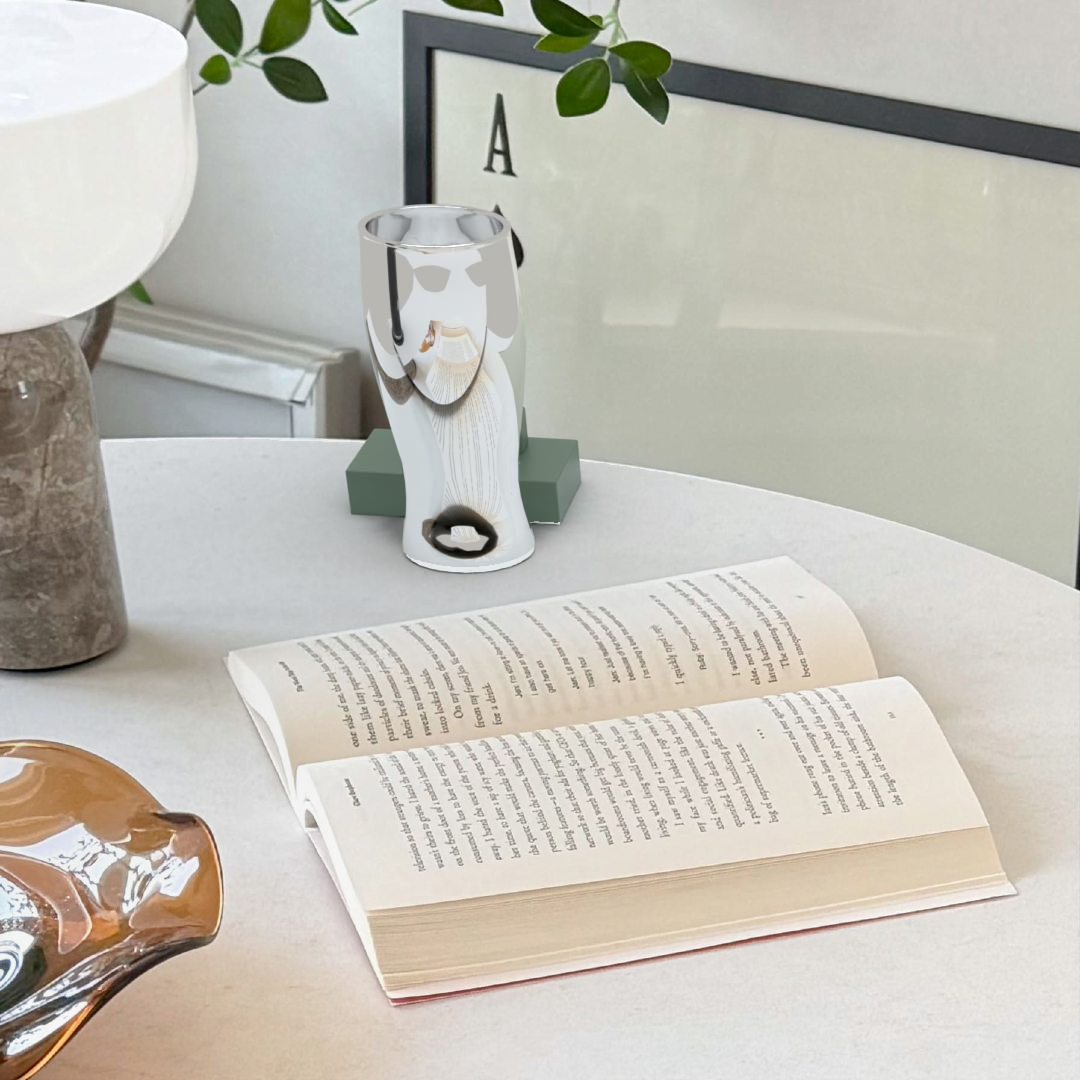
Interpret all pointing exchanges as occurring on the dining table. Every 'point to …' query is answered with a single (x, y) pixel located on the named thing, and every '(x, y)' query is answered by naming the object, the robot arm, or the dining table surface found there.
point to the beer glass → (450, 376)
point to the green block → (542, 470)
